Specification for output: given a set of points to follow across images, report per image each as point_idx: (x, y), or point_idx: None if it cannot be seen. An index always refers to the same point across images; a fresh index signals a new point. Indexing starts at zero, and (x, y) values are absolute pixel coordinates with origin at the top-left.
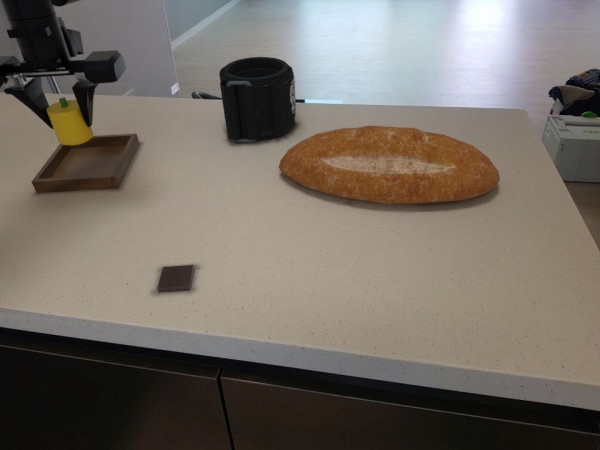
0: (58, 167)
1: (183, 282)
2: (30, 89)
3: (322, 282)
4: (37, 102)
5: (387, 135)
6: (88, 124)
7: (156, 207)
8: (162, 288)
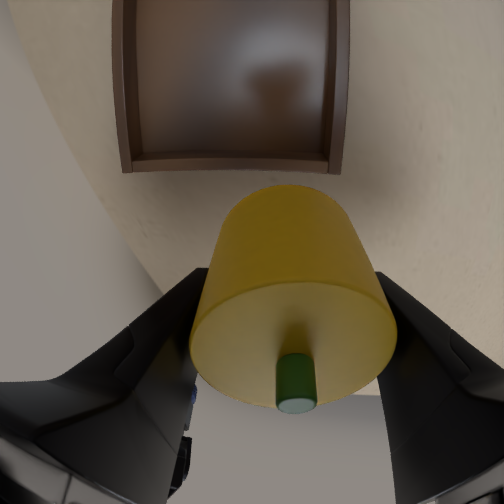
0: (138, 55)
1: None
2: (150, 490)
3: (495, 358)
4: (175, 429)
5: None
6: None
7: (409, 247)
8: None
